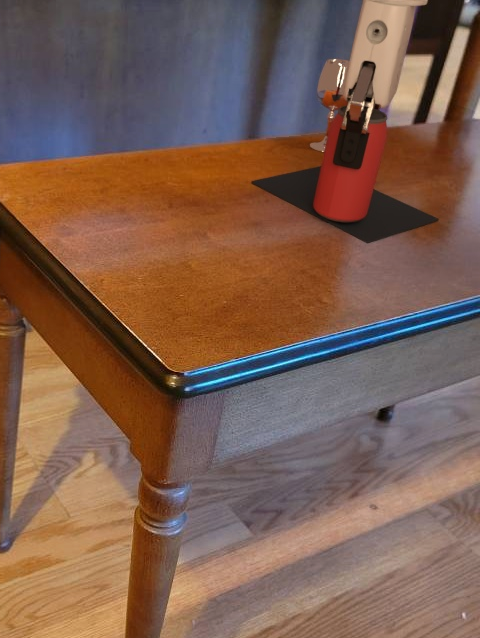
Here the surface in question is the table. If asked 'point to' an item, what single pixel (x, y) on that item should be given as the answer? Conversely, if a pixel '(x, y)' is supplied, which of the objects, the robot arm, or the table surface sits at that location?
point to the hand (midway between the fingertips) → (352, 155)
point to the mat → (377, 224)
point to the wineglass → (331, 92)
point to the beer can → (350, 173)
